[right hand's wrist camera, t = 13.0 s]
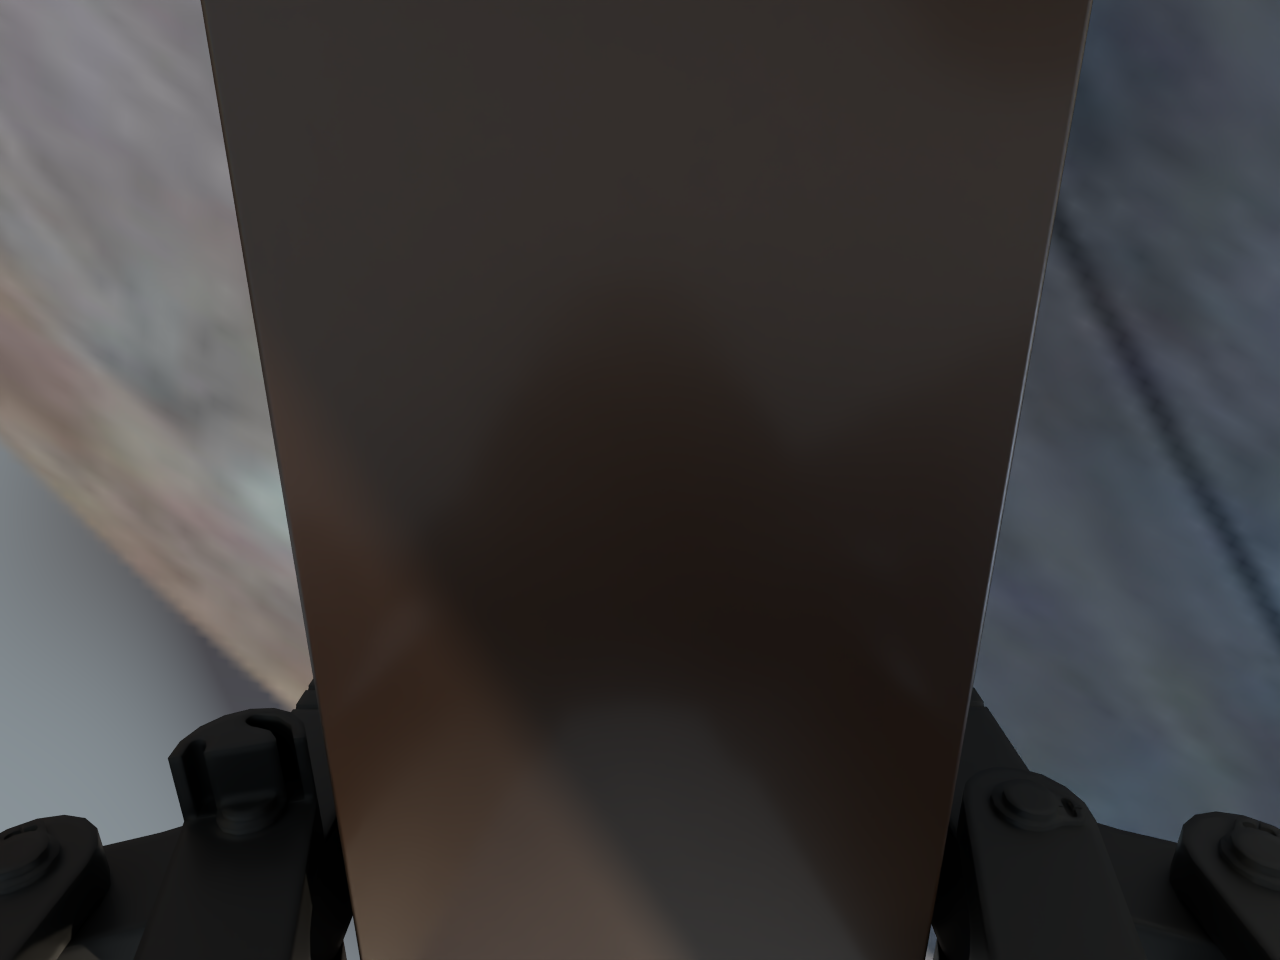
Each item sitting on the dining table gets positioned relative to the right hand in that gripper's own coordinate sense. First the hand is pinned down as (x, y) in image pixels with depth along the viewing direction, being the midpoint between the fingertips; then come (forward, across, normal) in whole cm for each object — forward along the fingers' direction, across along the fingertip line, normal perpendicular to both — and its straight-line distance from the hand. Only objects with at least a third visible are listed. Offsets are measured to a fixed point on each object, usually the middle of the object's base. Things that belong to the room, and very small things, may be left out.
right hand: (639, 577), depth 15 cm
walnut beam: (+1, 0, -9) cm, 9 cm away
